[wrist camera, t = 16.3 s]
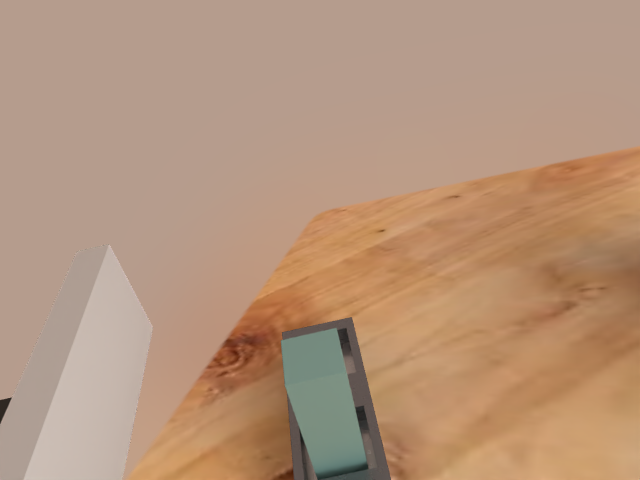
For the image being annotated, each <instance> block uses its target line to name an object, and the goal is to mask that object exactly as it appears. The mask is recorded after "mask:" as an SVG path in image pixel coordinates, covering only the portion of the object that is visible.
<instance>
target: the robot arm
mask: <svg viewBox="0 0 640 480" xmlns="http://www.w3.org/2000/svg"><path fill="white" fill-rule="evenodd" d="M152 330H153V327H152V325H151V323H150V321H149V319H148V317H147V315H146V313H145V311H144V309H143V308H142V306H141V304H140V302H139V300H138V298H137V296H136V294H135V292H134V290H133V289H132V287H131V285H130V283H129V281H128V279H127V277H126V276H125V273H124V272H123V270H122V268H121V266H120V264H119V262H118V260H117V258H116V256H115V254H114V252H113V251H112V249H111V247H110V245H109V244H108V245H103V246H99V247H94V248H90V249H85V250H81V251H77V252H76V254H75V256H74V259H73V261H72V263H71V266H70V268H69V270H68V272H67V275H66V277H65V279H64V281H63V284H62V286H61V288H60V290H59V293H58V295H57V297H56V299H55V302H54V304H53V306H52V309H51V311H50V313H49V315H48V317H47V320H46V322H45V324H44V326H43V329H42V331H41V333H40V336H39V338H38V340H37V342H36V345H35V347H34V349H33V351H32V354H31V356H30V358H29V360H28V363H27V365H26V367H25V370H24V372H23V374H22V376H21V378H20V381H19V383H18V385H17V387H16V390H15V392H14V394H13V396H12V398H8V399H4V400H0V480H123V475H124V470H125V465H126V460H127V454H128V449H129V445H130V440H131V435H132V430H133V425H134V419H135V415H136V410H137V404H138V400H139V395H140V390H141V385H142V380H143V375H144V370H145V365H146V360H147V355H148V350H149V345H150V340H151V335H152Z"/></svg>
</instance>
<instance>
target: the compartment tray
mask: <svg viewBox="0 0 640 480" xmlns="http://www.w3.org/2000/svg"><path fill="white" fill-rule="evenodd" d="M334 328H337V332H338V336H339V341H340V345H341V349H342V353H343V358H344V362H345V366H346V371H347V375H348V379H349V384H350V388H351V392H352V397H353V401H354V405H355V410H356V414H357V418H358V422H359V427H360V431H361V436H362V440H363V445H364V450H365V454H366V459H367V464H368V468H369V469H367V470H362V471H358V472H353V473H348V474H344V475H339V476H335V477H330V478H325V479H321V480H391V478H390V473H389V469H388V465H387V461H386V457H385V453H384V449H383V444H382V440H381V436H380V432H379V428H378V424H377V420H376V415H375V411H374V407H373V403H372V399H371V395H370V391H369V386H368V382H367V378H366V374H365V370H364V366H363V362H362V357H361V353H360V349H359V345H358V341H357V337H356V333H355V328H354V324H353V320H352V317H350V318H346V319H341V320H337V321H332V322H327V323H323V324H318V325H314V326H309V327H304V328H300V329H295V330H291V331H286V332H282V337H283V340H285V339H289V338H294V337H298V336H302V335H307V334H311V333H316V332H320V331H325V330H329V329H334ZM287 398H288V411H289V423H290V435H291V447H292V459H293V472H294V480H317V477H316V474H315V471H314V468H313V465H312V462H311V460H310V457H309V454H308V451H307V448H306V445H305V442H304V439H303V436H302V434H301V431H300V428H299V425H298V422H297V419H296V416H295V413H294V411H293V408H292V405H291V402H290V399H289V396H288V393H287Z"/></svg>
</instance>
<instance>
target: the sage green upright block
mask: <svg viewBox="0 0 640 480" xmlns="http://www.w3.org/2000/svg"><path fill="white" fill-rule="evenodd" d="M281 348H282V359H283V370H284V381H285V388H286V390H287V393H288V396H289V399H290V402H291V405H292V408H293V411H294V413H295V416H296V419H297V422H298V425H299V428H300V431H301V434H302V436H303V439H304V442H305V445H306V448H307V451H308V454H309V457H310V460H311V462H312V465H313V468H314V471H315V474H316V477H317V480H321V479H325V478H330V477H335V476H339V475H344V474H348V473H353V472H358V471H362V470H367V469H369V468H368V464H367V459H366V454H365V450H364V445H363V440H362V436H361V431H360V427H359V422H358V418H357V414H356V410H355V405H354V401H353V397H352V392H351V388H350V384H349V379H348V375H347V371H346V366H345V362H344V358H343V353H342V349H341V345H340V341H339V336H338V332H337V328H334V329H329V330H325V331H320V332H316V333H311V334H307V335H302V336H298V337H294V338H289V339H285V340H281Z"/></svg>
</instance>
